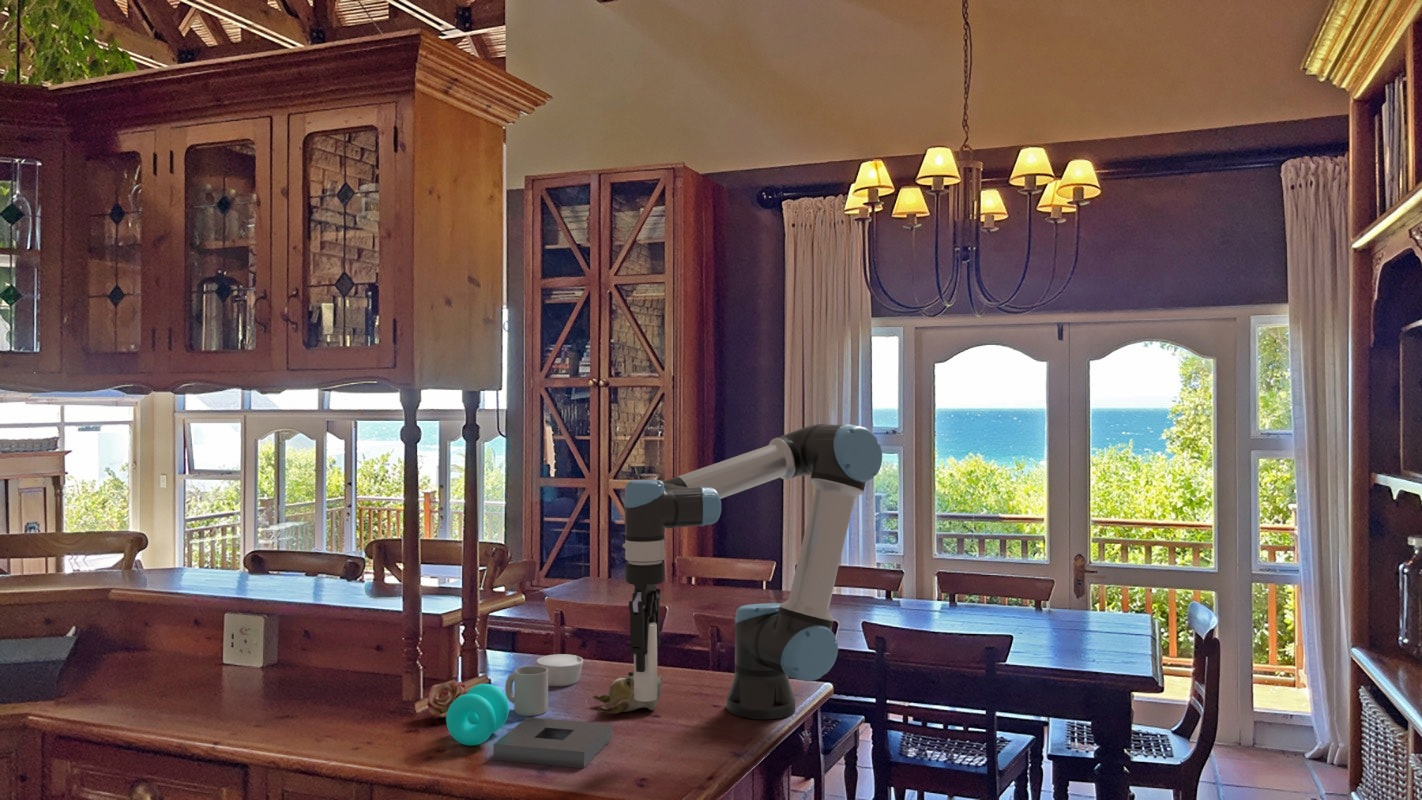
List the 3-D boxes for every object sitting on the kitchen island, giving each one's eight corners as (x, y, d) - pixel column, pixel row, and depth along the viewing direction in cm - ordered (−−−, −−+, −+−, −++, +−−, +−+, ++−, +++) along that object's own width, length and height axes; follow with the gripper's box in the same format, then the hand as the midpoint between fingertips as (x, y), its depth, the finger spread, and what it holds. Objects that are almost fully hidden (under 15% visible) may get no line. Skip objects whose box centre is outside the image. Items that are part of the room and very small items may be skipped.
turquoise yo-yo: (443, 746, 189) (443, 694, 189) (464, 729, 199) (465, 680, 199) (491, 749, 188) (492, 697, 188) (511, 732, 197) (511, 683, 197)
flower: (434, 701, 212) (424, 680, 207) (473, 693, 212) (464, 671, 208) (432, 736, 204) (422, 714, 200) (472, 727, 205) (463, 705, 201)
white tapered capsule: (660, 695, 186) (659, 622, 186) (653, 702, 181) (653, 627, 181) (638, 693, 187) (637, 621, 187) (631, 700, 182) (630, 626, 182)
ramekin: (585, 686, 230) (585, 664, 230) (537, 689, 227) (537, 667, 227) (580, 674, 241) (580, 652, 241) (535, 676, 238) (535, 655, 238)
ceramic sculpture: (665, 674, 209) (596, 682, 205) (668, 715, 209) (598, 723, 205) (657, 662, 219) (591, 670, 216) (659, 700, 219) (593, 708, 216)
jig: (611, 739, 194) (611, 724, 194) (584, 768, 178) (584, 751, 178) (527, 732, 197) (527, 717, 197) (493, 759, 182) (493, 743, 182)
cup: (537, 718, 206) (537, 676, 206) (496, 712, 210) (497, 671, 210) (553, 708, 213) (554, 667, 213) (514, 703, 216) (514, 663, 217)
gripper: (639, 553, 193) (640, 670, 193) (611, 568, 176) (612, 696, 176) (675, 554, 192) (676, 672, 192) (651, 570, 175) (652, 699, 175)
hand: (645, 683), depth 184 cm, fingers closed on white tapered capsule, 4 cm apart
